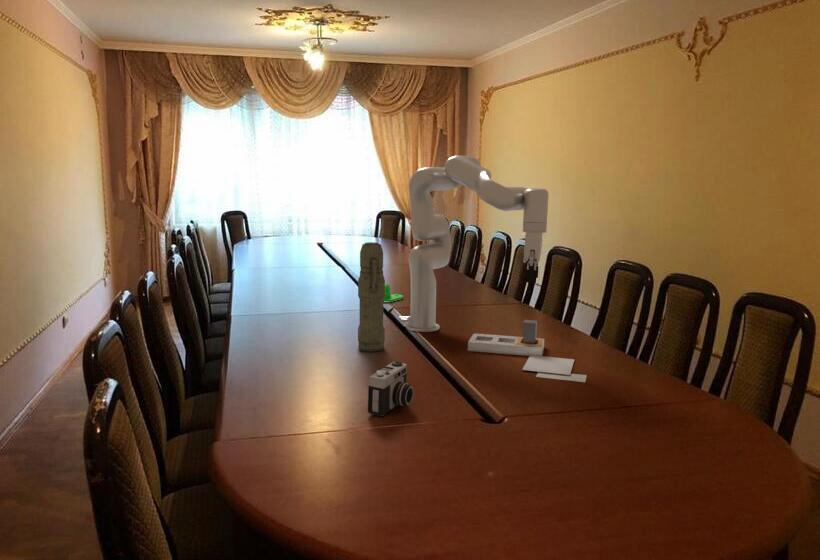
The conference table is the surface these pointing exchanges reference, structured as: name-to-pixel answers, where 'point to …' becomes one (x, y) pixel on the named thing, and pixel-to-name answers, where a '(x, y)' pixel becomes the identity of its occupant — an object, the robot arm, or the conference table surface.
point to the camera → (389, 389)
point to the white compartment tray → (504, 345)
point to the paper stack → (553, 368)
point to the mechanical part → (390, 297)
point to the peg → (529, 331)
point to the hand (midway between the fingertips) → (531, 279)
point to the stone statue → (371, 298)
